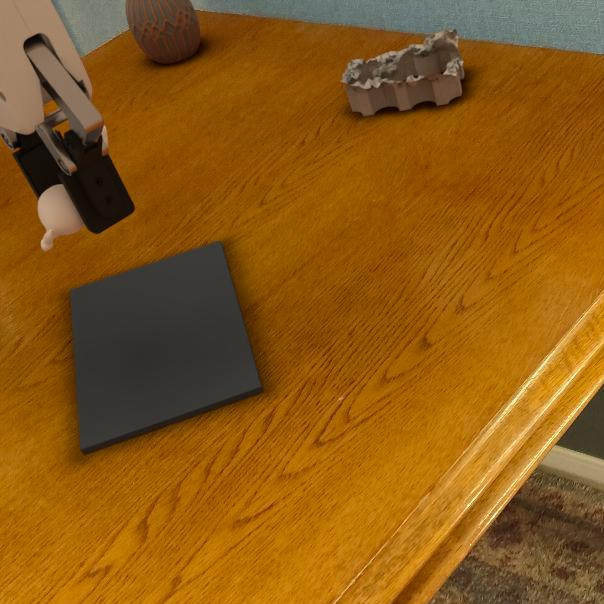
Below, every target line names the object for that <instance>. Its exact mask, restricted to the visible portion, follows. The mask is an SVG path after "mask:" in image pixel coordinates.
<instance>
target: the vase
mask: <svg viewBox="0 0 604 604" xmlns="http://www.w3.org/2000/svg"><path fill="white" fill-rule="evenodd" d="M124 7H125V8H124V9H125V16H126V17H125V19H126V22H127V25H128V28H129V31H130V34H131V35H132V37H133V39H134V41H135V42H136V44H137V46H138V47H139V48H140V50H141V51H142V52H143V53H144V54H145V55H146V56H147V57H148V58H150V59H151V60H153V61H154V62H156V63H159V64H162V65H163V64H164V65H166V64H173V63H178V62H182V61H185V60H187V59H188V58H190V57H191V56H192V57H193V55H194V54H195V53H196V52H197V51H198V49H199V47H200V43H201V26H200V21H199V17H198V14H197V12H196V9H195V7H194V5H193V3H192V2H191V0H125V5H124Z"/></svg>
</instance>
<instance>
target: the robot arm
mask: <svg viewBox="0 0 604 604" xmlns="http://www.w3.org/2000/svg"><path fill="white" fill-rule="evenodd" d="M93 92H94V91H93V86H92V83H91V79H90V77H89V75H88V72H87V70H86V68H85V66H84V64H83V60H82V58H81V57H80V54H79V53H78V50H77V48H76V47H75V45H74V42H73V40H72V38H71V36H70V35H69V32H68V30H67V29H66V27H65V25H64V23H63V20H62V19H61V17H60V14H59V13H58V11H57V10H56V7H55V6H54V4H53V2H52V0H0V138H1V139H2V141H3V143H4V144H5V145H6V147H7V148H8V150H10V151H12V153H11V155H12V157H13V159H14V161H15V162H16V164H17V165H18V168H19V169H20V171H21V172H22V174H23V177H24V178H25V179H26V181H27V183H28V185H29V186H30V188H31V189H32V191H33V193H34V195H35V197H36V198H37V200H38V201H39V198H40V196H41V195H42V193H44V192H45V191H46V190H47V189H48V188H50V187H52V186H54V185H59V184H63V186H64V188H65V189H66V191H67V193H68V195H69V197H70V198H71V200H72V202H73V204H74V206H75V207H76V209H77V211H78V213H79V215H80V216H81V218H82V220H83V222H84V224H85V227H86V229H87V230H88V231H89V232H91V233H92V234H94V235H99V234H101V233H103V232H105V231H106V230H108V229H110V228H111V227H113V226H114V225H116V224H118V223H119V222H121V221H123V220H124V219H126V218H127V217H130V216H131V215H132V214H134V213H135V211H136V206H135V203H134V202H133V200H132V197H131V195H130V193H129V192H128V190H127V188H126V186H125V184H124V181H123V180H122V177H121V176H120V174H119V171H118V170H117V168H116V166H115V164H114V162H113V160H112V158H111V156H110V150H109V147H107V145H106V143H105V142H104V140H103V136H102V131H103V127H104V125H105V119H104V118H103V116H102V114H101V113H100V111H99V110H98V109H97V108H96V107H95V105H94V104H93V102H92V101H91V100H92V97H93ZM51 101H53V102H54V103H55V104H56V105H57V107H58V108H57V109H55V110H54V111H53V110H52V112H50V113H47V114H46V112H45V107H44V105H46V104H48V103H49V102H51ZM64 122H68V128H69V130H67V131H64V133H63V135H62V133H61V131H60V130H58V129H54V128H55V127H57V126H59V125H61V124H63V123H64Z"/></svg>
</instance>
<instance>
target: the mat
mask: <svg viewBox="0 0 604 604" xmlns="http://www.w3.org/2000/svg"><path fill="white" fill-rule="evenodd" d="M229 265H230V264H229V262H228V259H227V255H226V252H225V248H224V245H223V242H222V241H221V240H217V241H213V242H211V243H208V244H205V245H202V246H199V247H195V248H193V249H190V250H187V251H184V252H181V253H178V254H174V255H172V256H168V257H166V258H163V259H159V260H157V261H153V262H150V263H148V264H144V265H141V266H138V267H136V268H135V267H134V268H131V269H128V270H126V271H122V272H119V273H117V274H114V275H110V276H108V277H105V278H101V279H99V280H96V281H93V282H90V283H89V282H88V283H86V284H84V285H81V286H78V287H75V288H71V289H69V300H70V311H71V328H72V343H73V358H74V373H75V374H74V375H75V384H76V385H75V389H76V398H77V399H76V403H77V415H78V417H77V418H78V431H79V432H78V433H79V434H78V435H79V447H80V451H81V452H82V454H83V455H84V456H85V455H88V454H91V453H93V452H96V451H99V450H102V449H105V448H107V447H111V446H114V445H117V444H119V443H122V442H125V441H128V440H130V439H133V438H136V437H140V436H142V435H145V434H149V433H150V432H154V431H156V430H157V431H158V430H159V429H162V428H165V427H168V426H170V425H174V424H176V423H179V422H182V421H186V420H188V419H191V418H193V417H196V416H199V415H202V414H205V413H207V412H211V411H214V410H216V409H219V408H222V407H225V406H228V405H231V404H234V403H236V402H239V401H242V400H245V399H248V398H251V397H254V396H256V395H259V394H263V393H264V392H265V390H264V387H263V383H262V380H261V377H260V372H259V369H258V366H257V362H256V358H255V355H254V352H253V351H254V350H253V348H252V344H251V341H250V338H249V333H248V330H247V326H246V323H245V319H244V316H243V312H242V309H241V305H240V301H239V298H238V295H237V290H236V286H235V284H234V280H233V276H232V273H231V269H230V266H229Z"/></svg>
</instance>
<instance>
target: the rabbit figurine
mask: <svg viewBox="0 0 604 604" xmlns="http://www.w3.org/2000/svg"><path fill="white" fill-rule="evenodd" d="M102 136H103V140H104V142H105V143H106V145H107V147H108V146H109V137H108V131H107V127H106V124H104V127H103V131H102ZM108 148H109V147H108ZM37 213H38V214H37V215H38V218H39V220H40V222H41V224H42V226H43V227H44V228H45V233H44V235H43V238H42V239H41V241H40V247H41V249H42V250H43V252H47V251H50V250H51V249H52V248H53V247H54V243H53V242H54V240H55V239H57V238H58V237H60V236H61V237H62V236H69V235H74V234H75V233H78V232H79V231H81V230H82V229H83V228H84V227H86V225H85V224H84V222H83V220H82V218H81V216H80V215H79V213H78V211H77V209H76V207H75V206H74V204H73V202H72V200H71V198H70V197H69V195H68V193H67V191H66V189H65V188H64V186H63V184H59V185H54V186H52V187H50V188H48V189H47V190H46V191H45V192H44V193H42V195H41V196H40V198H39V200H38V201H37Z"/></svg>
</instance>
